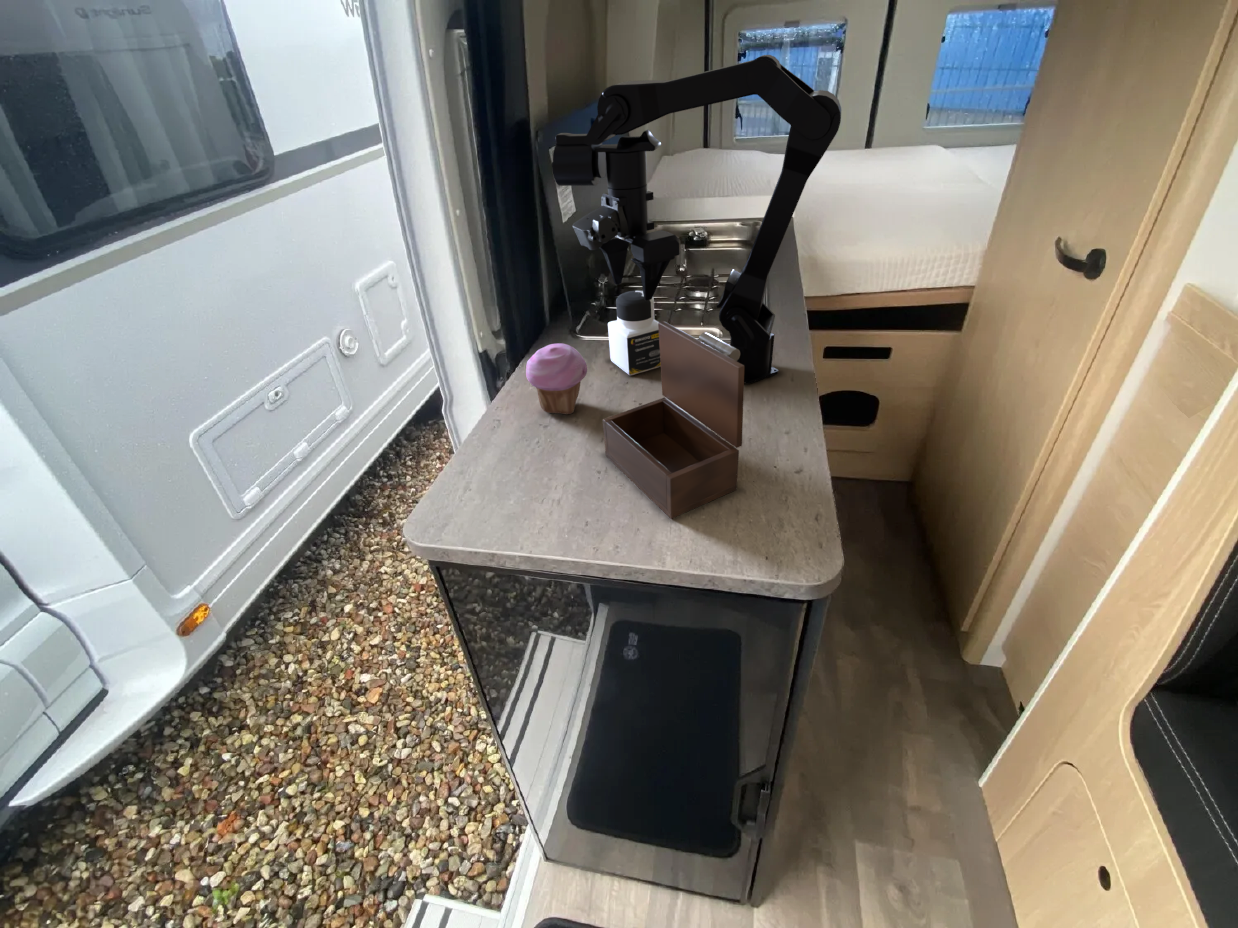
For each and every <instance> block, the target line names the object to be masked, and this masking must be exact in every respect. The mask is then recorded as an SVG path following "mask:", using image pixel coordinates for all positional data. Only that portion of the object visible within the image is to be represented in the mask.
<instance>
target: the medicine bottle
mask: <svg viewBox="0 0 1238 928" xmlns="http://www.w3.org/2000/svg"><path fill="white" fill-rule="evenodd" d="M654 298H655V297H654V296H653V297H652V299H651V300H647V301H646V300H645V299H644V294H643V290H630V291H625V292H623V293H621V294H619V295H618V296H617V298H616V299H615V306H616V319H615V320H610V321H609V322H607V331H608V333H607V334H608V346H609V357H610V361H611V362H612V363H613V364H614V365H616V366H617V367H619V369H621V370H622V371H623V372H624V373H625V374H627V375H628V376H629V377H631V376H634V375H637V374H641V373H644V372H648V371H652V370H655V369H658V368H661V363H660V346H659V329H658V322H659V321H658V320H656V319H655V299H654Z"/></svg>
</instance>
